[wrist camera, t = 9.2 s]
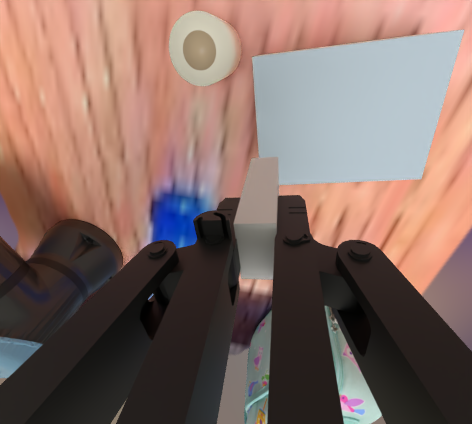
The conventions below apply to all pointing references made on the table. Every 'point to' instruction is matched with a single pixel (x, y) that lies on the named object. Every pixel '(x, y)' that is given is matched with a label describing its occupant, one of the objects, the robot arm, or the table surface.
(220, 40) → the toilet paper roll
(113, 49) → the table surface
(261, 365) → the lunch box
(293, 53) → the lid
